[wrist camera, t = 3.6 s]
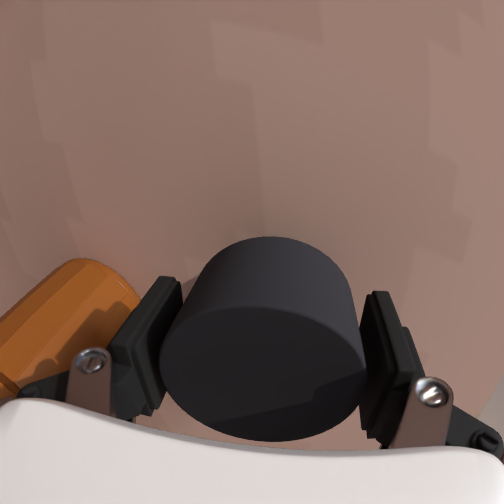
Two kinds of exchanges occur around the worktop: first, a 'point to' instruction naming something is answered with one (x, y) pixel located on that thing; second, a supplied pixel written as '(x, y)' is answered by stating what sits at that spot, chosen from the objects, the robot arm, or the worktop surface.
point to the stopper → (266, 343)
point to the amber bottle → (61, 322)
